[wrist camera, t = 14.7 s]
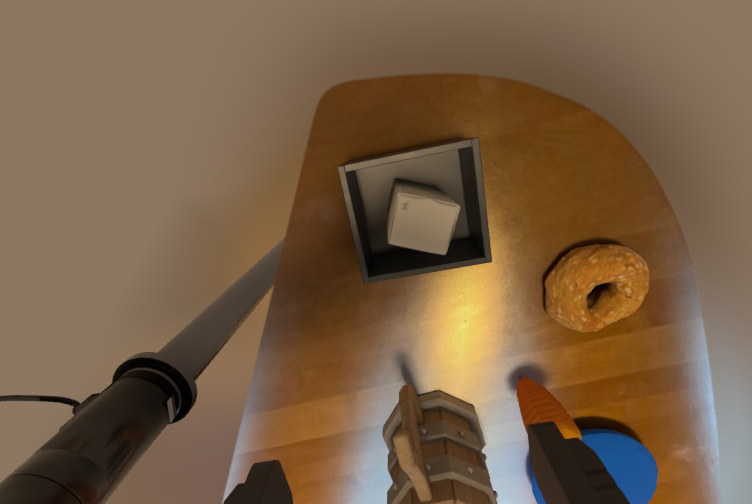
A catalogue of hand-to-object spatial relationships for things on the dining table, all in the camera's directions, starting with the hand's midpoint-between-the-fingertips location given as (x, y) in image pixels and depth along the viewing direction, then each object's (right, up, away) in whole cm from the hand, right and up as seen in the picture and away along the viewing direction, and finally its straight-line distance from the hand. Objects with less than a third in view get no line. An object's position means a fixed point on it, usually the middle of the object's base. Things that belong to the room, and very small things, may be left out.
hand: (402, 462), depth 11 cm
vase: (+28, -22, +38) cm, 52 cm away
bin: (+3, +12, +28) cm, 30 cm away
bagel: (+23, +3, +30) cm, 38 cm away
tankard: (+6, -14, +36) cm, 39 cm away
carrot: (+18, -9, +34) cm, 40 cm away
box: (+3, +12, +27) cm, 30 cm away
